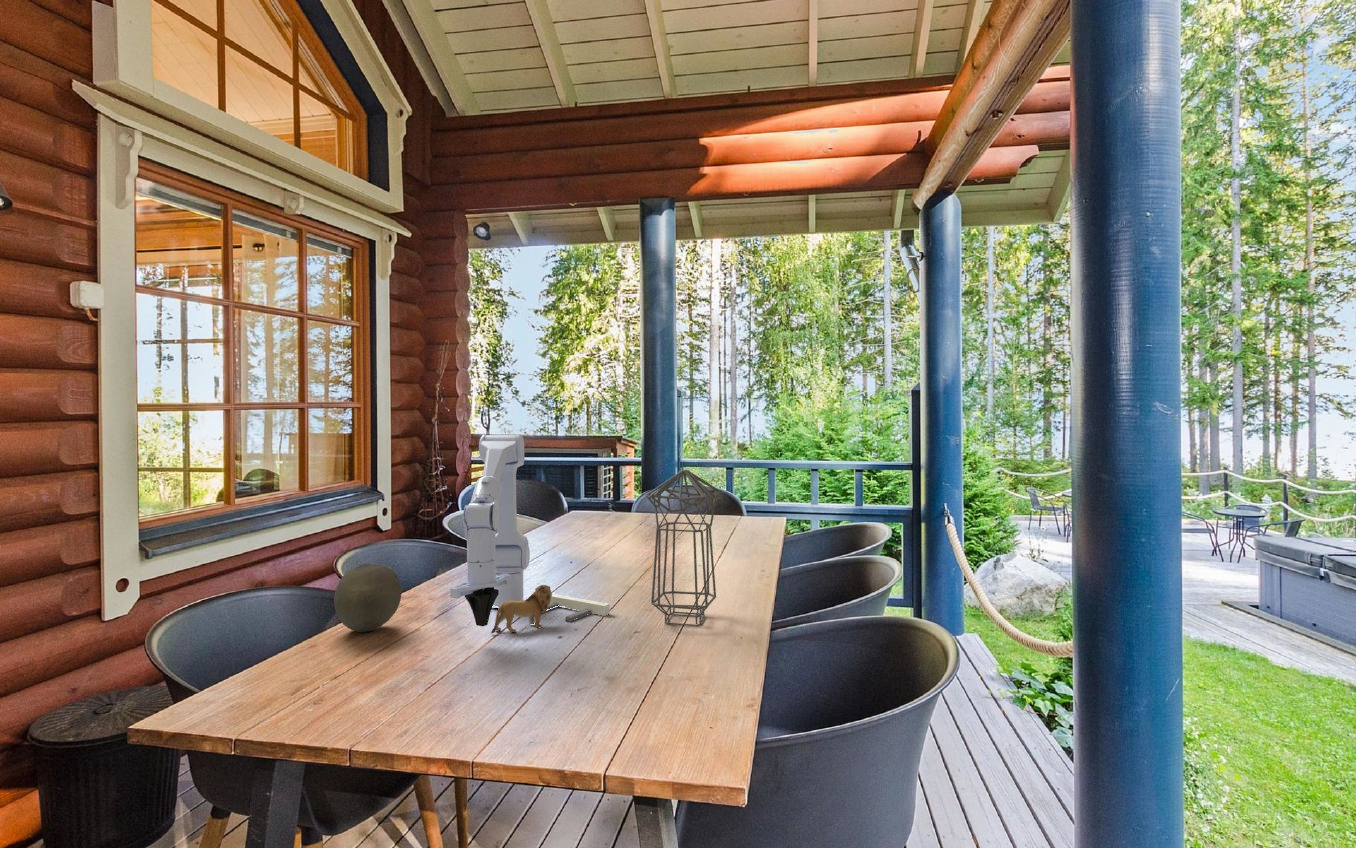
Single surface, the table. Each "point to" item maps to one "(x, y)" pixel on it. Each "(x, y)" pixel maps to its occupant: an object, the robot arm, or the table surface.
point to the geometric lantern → (702, 497)
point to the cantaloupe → (367, 596)
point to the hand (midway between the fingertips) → (481, 625)
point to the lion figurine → (525, 608)
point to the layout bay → (579, 606)
